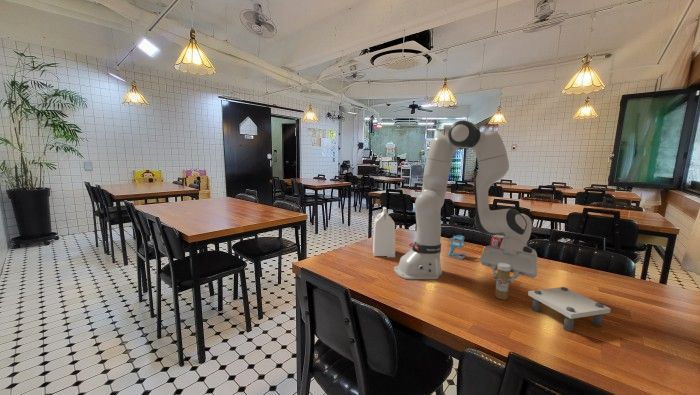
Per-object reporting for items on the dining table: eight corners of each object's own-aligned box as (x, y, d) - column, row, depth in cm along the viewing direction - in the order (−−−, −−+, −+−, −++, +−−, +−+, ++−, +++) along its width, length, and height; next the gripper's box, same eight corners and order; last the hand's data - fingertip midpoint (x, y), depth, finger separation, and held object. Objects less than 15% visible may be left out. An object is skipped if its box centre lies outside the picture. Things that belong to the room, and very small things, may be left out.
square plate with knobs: (568, 333, 90) (571, 312, 89) (526, 307, 106) (528, 289, 105) (607, 327, 94) (610, 306, 93) (561, 303, 110) (563, 285, 109)
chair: (451, 253, 166) (452, 232, 165) (466, 256, 161) (467, 234, 160) (446, 256, 160) (447, 235, 158) (462, 259, 155) (463, 238, 154)
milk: (395, 257, 158) (396, 210, 154) (374, 256, 158) (375, 209, 155) (392, 250, 170) (393, 206, 166) (372, 249, 170) (373, 206, 166)
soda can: (505, 260, 156) (507, 238, 154) (491, 258, 157) (493, 237, 155) (501, 255, 163) (503, 234, 161) (488, 254, 164) (489, 233, 162)
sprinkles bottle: (493, 297, 114) (496, 264, 112) (496, 293, 117) (499, 261, 115) (506, 301, 111) (509, 267, 109) (509, 297, 114) (512, 264, 112)
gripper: (484, 240, 123) (473, 268, 118) (540, 251, 109) (531, 284, 103) (487, 248, 127) (476, 275, 121) (542, 260, 113) (533, 292, 107)
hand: (502, 279), depth 112 cm, fingers closed on sprinkles bottle, 4 cm apart
